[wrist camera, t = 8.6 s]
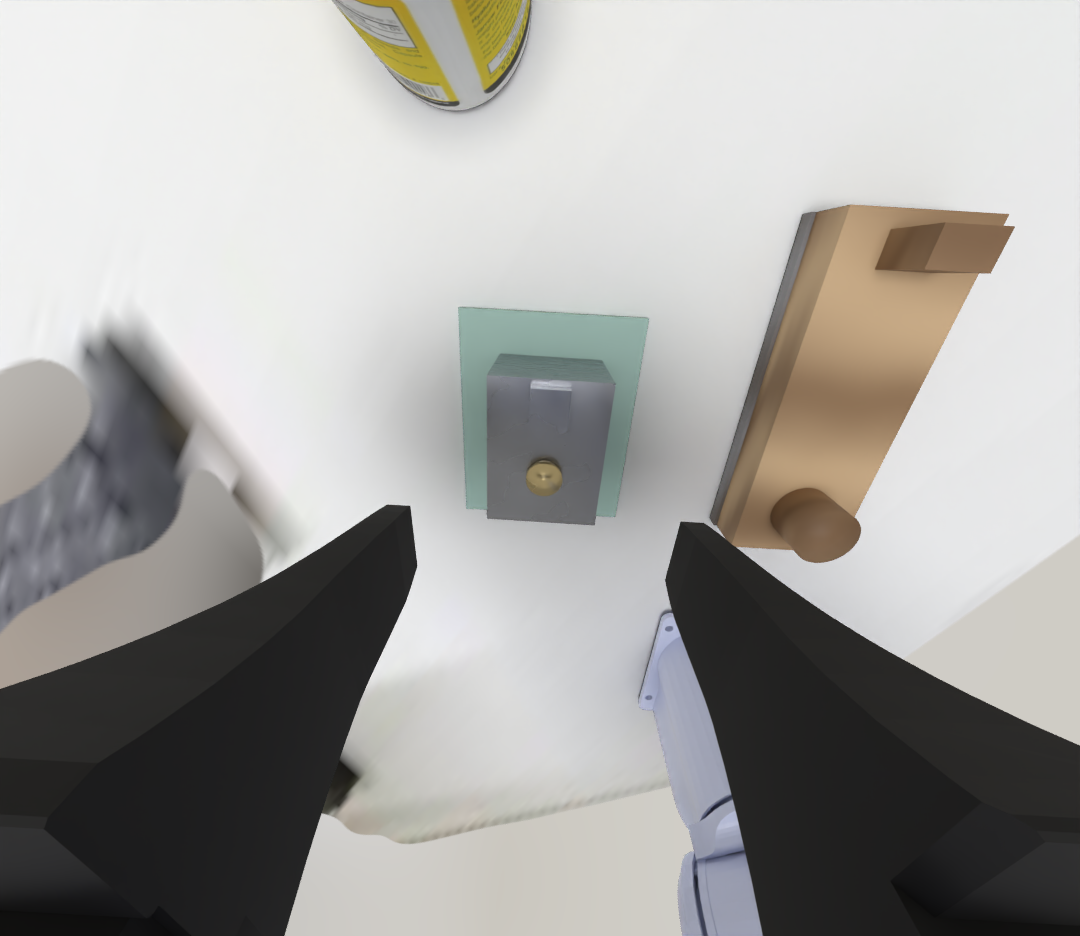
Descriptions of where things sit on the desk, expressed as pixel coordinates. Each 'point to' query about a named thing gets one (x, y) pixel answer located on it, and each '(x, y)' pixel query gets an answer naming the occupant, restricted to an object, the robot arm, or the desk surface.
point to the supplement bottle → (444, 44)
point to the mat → (549, 337)
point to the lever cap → (546, 437)
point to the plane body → (845, 367)
